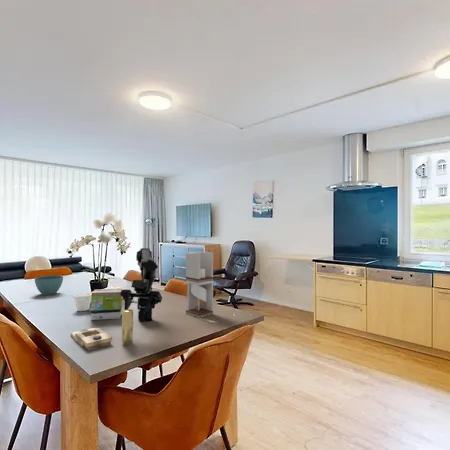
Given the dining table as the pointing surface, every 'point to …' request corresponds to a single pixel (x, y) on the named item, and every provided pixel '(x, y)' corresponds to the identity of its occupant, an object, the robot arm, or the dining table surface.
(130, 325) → the brass pin
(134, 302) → the adjustable wrench
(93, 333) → the wooden slotted base
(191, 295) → the grey stand
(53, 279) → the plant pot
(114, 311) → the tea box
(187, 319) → the dining table surface
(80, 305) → the cup
